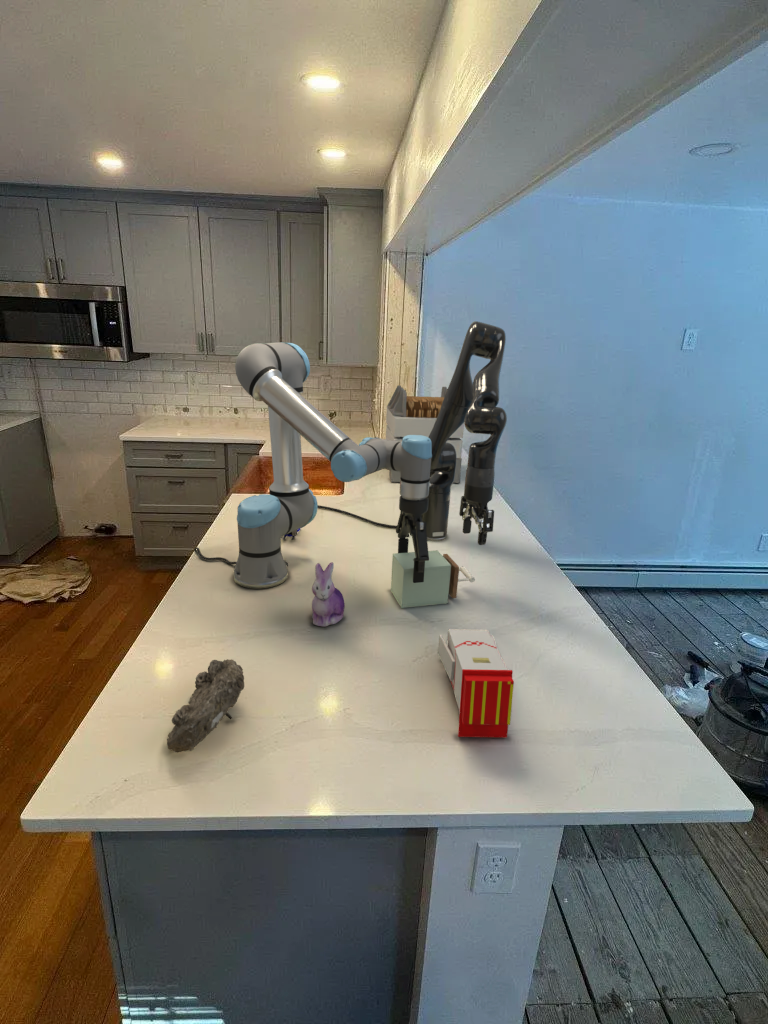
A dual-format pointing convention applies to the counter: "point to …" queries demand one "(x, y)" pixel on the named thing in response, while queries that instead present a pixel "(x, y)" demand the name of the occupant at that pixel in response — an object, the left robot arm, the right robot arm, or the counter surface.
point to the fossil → (206, 705)
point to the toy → (478, 682)
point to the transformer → (418, 423)
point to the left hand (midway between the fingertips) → (410, 570)
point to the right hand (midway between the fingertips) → (473, 538)
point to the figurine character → (291, 534)
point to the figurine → (326, 598)
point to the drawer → (456, 576)
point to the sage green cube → (423, 592)
